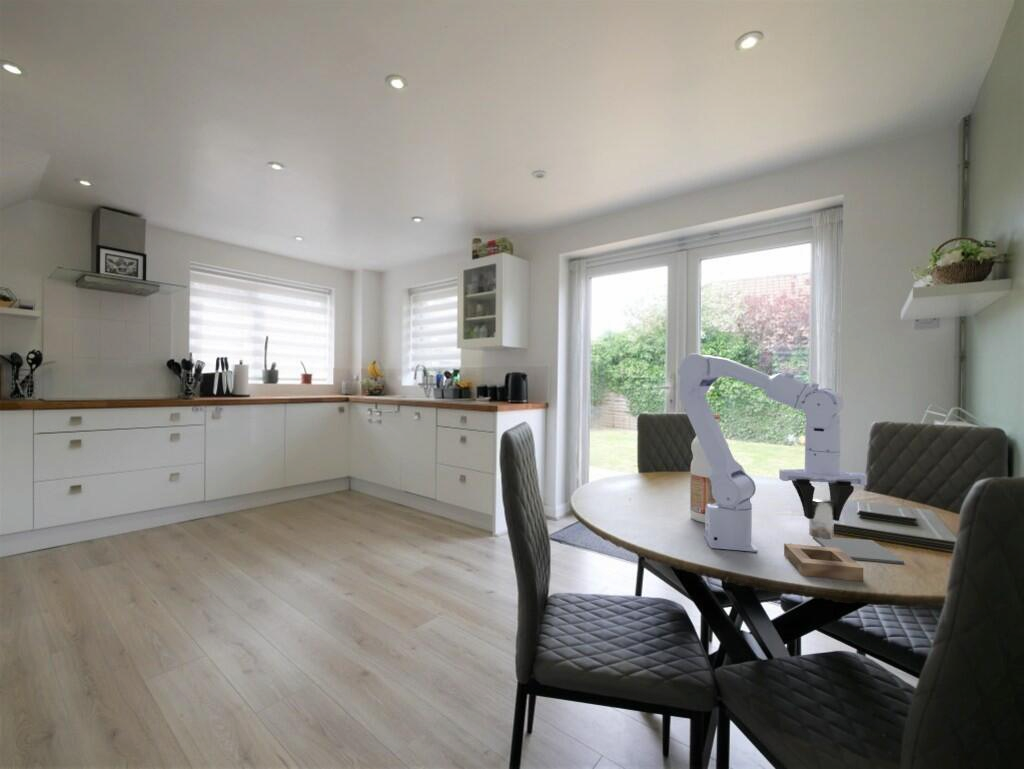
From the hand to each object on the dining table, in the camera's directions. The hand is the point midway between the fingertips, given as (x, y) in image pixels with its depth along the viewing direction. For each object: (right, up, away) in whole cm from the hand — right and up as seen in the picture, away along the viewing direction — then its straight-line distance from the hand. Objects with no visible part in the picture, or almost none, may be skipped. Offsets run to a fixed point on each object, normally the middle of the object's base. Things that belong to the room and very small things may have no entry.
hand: (821, 518), depth 89 cm
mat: (+14, -10, +9) cm, 19 cm away
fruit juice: (-9, -10, +30) cm, 33 cm away
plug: (0, -3, 0) cm, 3 cm away
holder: (0, -10, 0) cm, 10 cm away
